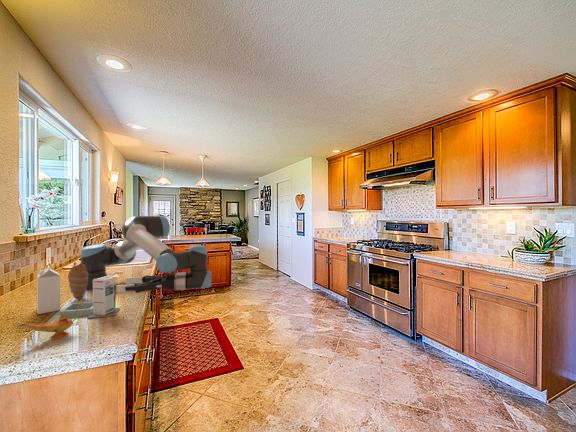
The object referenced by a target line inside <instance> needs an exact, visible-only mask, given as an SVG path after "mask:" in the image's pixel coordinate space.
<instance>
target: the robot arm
mask: <svg viewBox="0 0 576 432" xmlns="http://www.w3.org/2000/svg"><path fill="white" fill-rule="evenodd" d="M170 229H171V227H170V222H169V220H168V218H167V217H166V216H163V215H135V216H131V217H129V218H128V219H127V220H125V222H124V223H123V224H122V227H121V234H122V236H123V237H124V239H125V240H124V241H119V242H117V243H116V244H114V245H108V246H107V245H106V244H104V243H100V244H99V243H98V244H91V245H87V246H84V247H82V248H81V251H80V263H83V264H84V265H85V266H86V271H87V272H88V282H87V283H88V284H87V287H86V291H88V290H93V280H94V279H98V278H101V277H104V276H108V274H107V271H106V270H107V269H106V268H107V267H109V266H115V265H118V266H119V265H126V264H130V263H132V262H133V261H134V260H135V258H136V255H137V252H138V250H139V249H141V250H143V251H144V252H145V253H146V254H147V255H148V256H150V257H151V258H152V259H154V260H155V265H156V268H157V270H158V271H159V272H160V273H163V274H164V273H165V275H149V274H148V275H143V276H133V277H132V276H131V277H125V284H118V285H115V291H116V293H127V292H135V294H137V293H138V294H139V293H142V292H149V291H153V290H161V289H162V287H164V288H165V291H167V292H168V291H174V290H176V291H178V290H180V291H184V290H193V289H200V290H202V289H206V288H210V287H211V286H212V271H211V270H208V267H207V266H208V264H207V263H208V249H207V246H206V245H203V244H202V245H201V244H200V245H199V244H198V245H197V244H196V245H191V246H190V247H189V250H187V251H180V252H179V251H178V252H177V251H175V250H174V249H172V248H171V247H169V246H168V245H167V244H166V243H164V242H162V241H161V240H159V238H166V237H168V235H169V233H170ZM181 270H189V271H188V272H187V271H183V272H176V271H181ZM175 272H176V273H175Z"/></svg>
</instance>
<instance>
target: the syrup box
mask: <svg viewBox="0 0 576 432" xmlns="http://www.w3.org/2000/svg"><path fill="white" fill-rule="evenodd" d="M116 294H117V292H116V277H115V276H111V275H110V276H108V275H107V276H104V277H101V278H98V279H94V280H93V289H92V302H93V314H97V315H106V314H108V313H110V312H113V311H115V310H116V308H117V307H116V306H117V305H116V304H117V303H116Z"/></svg>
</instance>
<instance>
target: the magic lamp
mask: <svg viewBox="0 0 576 432" xmlns="http://www.w3.org/2000/svg"><path fill="white" fill-rule="evenodd" d="M83 300H84V299H83V298H82V299H80V300H78V301H77V302H76V303H77V304H78V303H79V304H78V305H80V306H81V307H83V306H82V305H81V303H83V302H84V301H83ZM77 307H78V308H79V306H77ZM78 308H77V309H75V310H76V312H75V314H74V315H73V317H69V316H65V314H64V313H63V314H62V316H61V317H60V316H59V318H57V320H55V321H51V322H49V323H43V324H32V323H31V324H28V323H23V324H22V323H21V324H18V325H16V327H24V328H27V329H29V330H33V331H38V332H43V333H46V332H47V333H54V334H52V335H51V336H50V337H49V338H50V339H51V340H57V339H62V338H66V337H68V336H70V333H69V332H68V331H67V332H66V330H67V329H69V328H71V326H76V325H78V323H79V322H78V321H77V322H76V324H74V321H76V320H77V319H79V318H80V317H82V316H81V315H83V314H84V313H85V311H86V309H87V308H85V307H83V308H84V309H85V311H84V312H83V313H82V314H81V315H80V316H75V315H76V314H77V312H78V310H79V309H78ZM74 316H75V317H76V318H74ZM73 318H74V319H73ZM72 319H73V320H72Z"/></svg>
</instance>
